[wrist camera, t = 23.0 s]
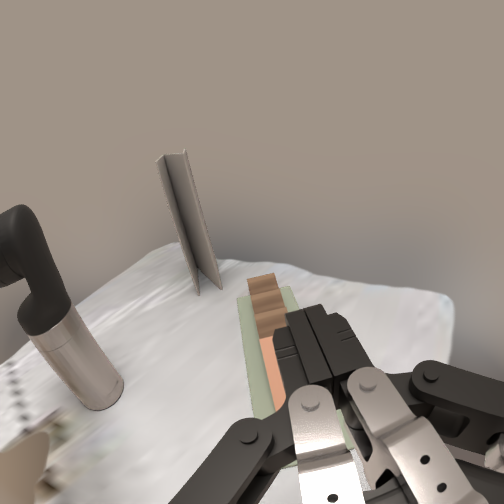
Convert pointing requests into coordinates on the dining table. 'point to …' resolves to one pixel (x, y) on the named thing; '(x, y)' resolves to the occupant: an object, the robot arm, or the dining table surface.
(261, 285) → the tile
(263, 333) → the tile
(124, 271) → the dining table surface
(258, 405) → the mat
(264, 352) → the tile
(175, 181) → the brochure
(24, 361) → the dining table surface
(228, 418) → the dining table surface
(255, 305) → the tile
